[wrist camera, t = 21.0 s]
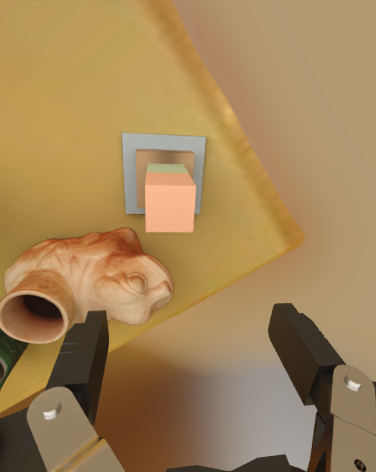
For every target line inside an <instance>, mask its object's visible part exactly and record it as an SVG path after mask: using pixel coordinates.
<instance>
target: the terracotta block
mask: <svg viewBox="0 0 376 472" xmlns="http://www.w3.org/2000/svg"><path fill="white" fill-rule="evenodd" d="M195 196H196V185H195V183H194V182H193V180H192V178H191V177H190V175H189V173H157V172H146V180H145V213H146V232H193V226H194V211H195Z"/></svg>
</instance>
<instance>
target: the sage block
mask: <svg viewBox="0 0 376 472" xmlns="http://www.w3.org/2000/svg"><path fill="white" fill-rule="evenodd" d="M147 172H157V173H189V172H188V171H187V169H186V167H185V166H184V164H152V163H147Z"/></svg>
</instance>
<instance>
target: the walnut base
mask: <svg viewBox="0 0 376 472" xmlns="http://www.w3.org/2000/svg"><path fill="white" fill-rule="evenodd" d="M147 163H152V164H184V166H185V167H186V169H187V171H188V172H189V175H190V177H191V178H192V180H193V171H194V153H193V152H192V151H184V150H158V149H136V180H137V208H145V180H146V172H147Z"/></svg>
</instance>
